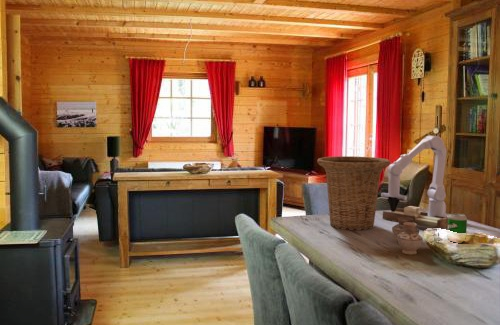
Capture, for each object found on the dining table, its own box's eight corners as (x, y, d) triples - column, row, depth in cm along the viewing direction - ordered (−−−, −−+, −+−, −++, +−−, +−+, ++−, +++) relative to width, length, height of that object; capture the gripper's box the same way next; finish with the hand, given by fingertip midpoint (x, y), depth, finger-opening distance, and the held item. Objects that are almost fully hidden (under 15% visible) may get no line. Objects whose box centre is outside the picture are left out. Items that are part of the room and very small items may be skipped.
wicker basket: (312, 231, 225) (313, 161, 221) (319, 216, 258) (320, 155, 255) (389, 236, 216) (392, 163, 213) (386, 219, 250) (388, 157, 247)
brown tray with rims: (397, 214, 263) (397, 206, 262) (454, 224, 240) (455, 215, 239) (381, 219, 252) (381, 210, 252) (440, 229, 229) (440, 220, 228)
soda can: (462, 239, 210) (463, 213, 209) (468, 244, 203) (469, 216, 202) (444, 239, 211) (445, 212, 210) (450, 243, 204) (451, 216, 202)
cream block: (409, 214, 252) (409, 206, 252) (420, 216, 248) (420, 207, 247) (403, 215, 248) (404, 207, 248) (414, 217, 244) (414, 209, 243)
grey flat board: (435, 218, 254) (435, 215, 254) (457, 222, 245) (457, 219, 245) (407, 226, 234) (407, 223, 234) (430, 231, 225) (430, 228, 225)
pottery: (396, 255, 187) (397, 225, 186) (390, 239, 211) (391, 212, 210) (426, 257, 185) (427, 227, 184) (416, 240, 209) (417, 214, 208)
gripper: (378, 185, 257) (377, 210, 258) (402, 188, 246) (401, 214, 248) (385, 184, 262) (384, 208, 263) (409, 187, 251) (408, 212, 252)
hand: (393, 211), depth 256 cm, fingers closed
